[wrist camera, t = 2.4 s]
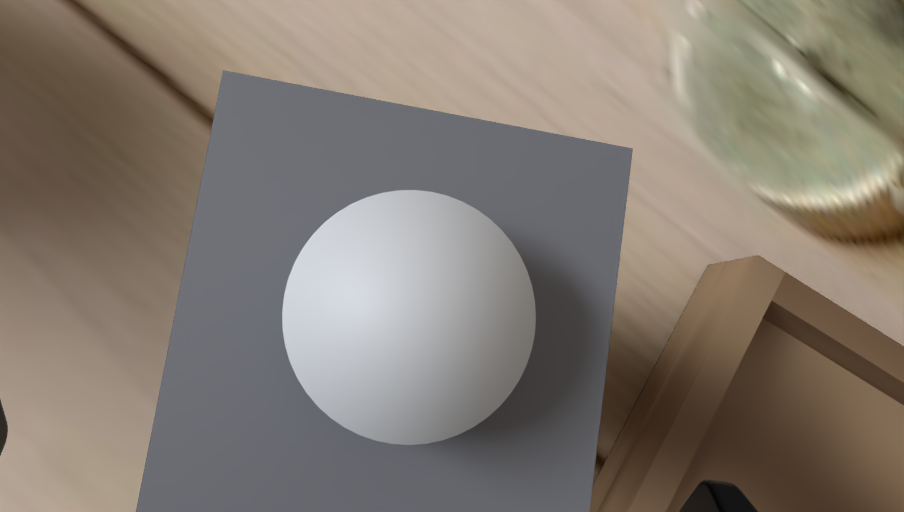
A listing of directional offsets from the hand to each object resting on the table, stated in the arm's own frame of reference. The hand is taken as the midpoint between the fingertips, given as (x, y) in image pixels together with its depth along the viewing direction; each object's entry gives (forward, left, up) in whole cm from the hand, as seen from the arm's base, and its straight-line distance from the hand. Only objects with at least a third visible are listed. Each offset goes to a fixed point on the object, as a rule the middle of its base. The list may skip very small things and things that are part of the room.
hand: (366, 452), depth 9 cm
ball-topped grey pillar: (+2, 0, -9) cm, 9 cm away
